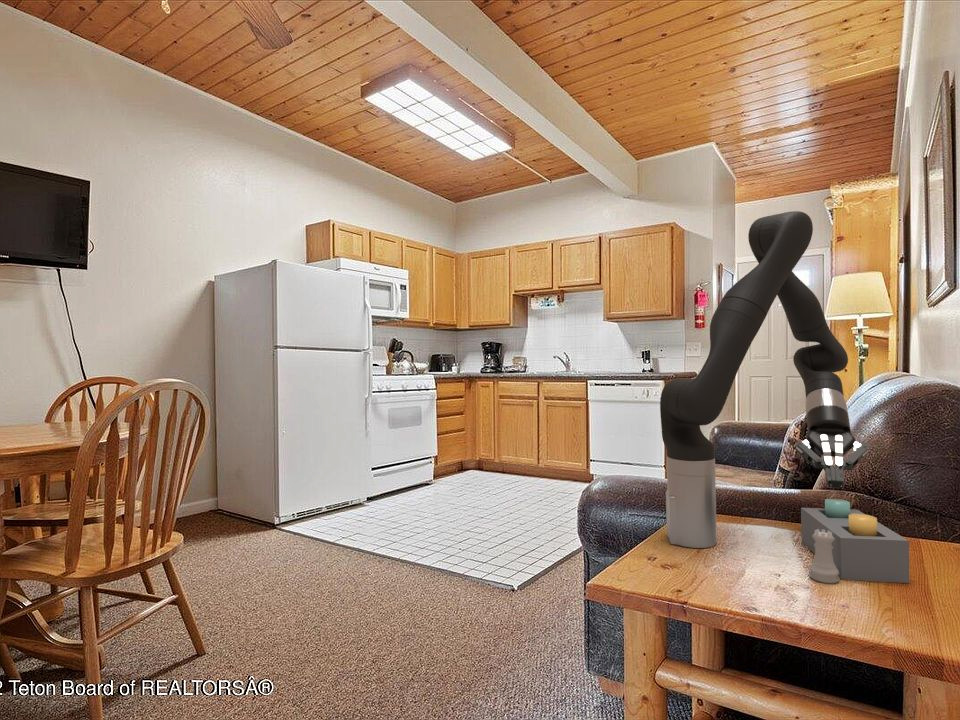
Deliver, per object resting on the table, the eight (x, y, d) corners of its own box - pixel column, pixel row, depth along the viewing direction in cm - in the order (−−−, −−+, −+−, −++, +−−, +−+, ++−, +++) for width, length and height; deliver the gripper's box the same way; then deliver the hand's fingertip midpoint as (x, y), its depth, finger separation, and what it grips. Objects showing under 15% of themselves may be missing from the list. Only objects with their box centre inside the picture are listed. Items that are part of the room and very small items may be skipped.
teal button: (830, 522, 102) (830, 503, 102) (821, 516, 106) (821, 498, 106) (854, 523, 101) (853, 504, 101) (844, 516, 105) (844, 498, 105)
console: (841, 579, 91) (840, 538, 91) (801, 542, 108) (800, 507, 108) (909, 583, 89) (908, 540, 89) (857, 544, 106) (856, 509, 106)
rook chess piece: (846, 584, 89) (845, 535, 89) (819, 584, 89) (818, 536, 89) (828, 573, 94) (827, 527, 94) (802, 573, 94) (802, 527, 93)
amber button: (855, 540, 92) (855, 520, 92) (844, 532, 96) (844, 513, 96) (882, 541, 91) (881, 521, 91) (870, 533, 95) (869, 514, 95)
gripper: (791, 403, 116) (797, 472, 105) (866, 404, 110) (880, 477, 99) (790, 424, 121) (795, 492, 110) (862, 426, 115) (875, 499, 104)
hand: (836, 485), depth 105 cm, fingers closed
